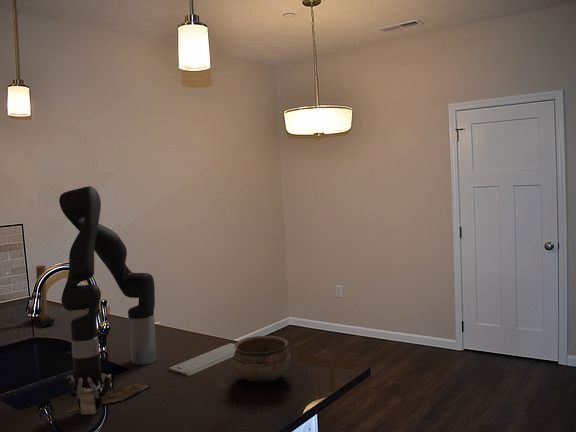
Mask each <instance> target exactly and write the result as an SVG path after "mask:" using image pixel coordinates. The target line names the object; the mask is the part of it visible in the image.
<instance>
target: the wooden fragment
mask: <svg viewBox="0 0 576 432" xmlns="http://www.w3.org/2000/svg"><path fill="white" fill-rule="evenodd" d="M147 388H151V386H150V385H146V384H139V383H135V384H134V383H133V384H130V385H126V386H124V387H122V388H118V389H116V390H112V391H111V390H110V391H108V392H107V393H106V394H105V395H104V396H102V405H104V404H111V403H116V402H124V401H126V400H127V399H129V398H130V397H133V396H135V395H136V394H139V393H140V392H142V391H145V389H147ZM76 411H81V410H80V409H79V407H78V403H76V405H74V406H73V407H71V408H70V409H68V410H67V411H66V413H71V412H72V413H73V412H76Z"/></svg>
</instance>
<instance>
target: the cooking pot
mask: <svg viewBox="0 0 576 432" xmlns="http://www.w3.org/2000/svg"><path fill="white" fill-rule="evenodd" d="M234 344H235V345H234V347H235V349H236V351H235V354H234V357H232V358H233V359H232V365H233V369H234V370H235V372H236V374H237V375H238V376H239V377H241V378H242V379H244V380H245V381H249V382H252V383H253V384H256V385H267V384H271V383H273V381H276V380H277V379H279V378H281V377H282V376H284V375H285V374H286V373H287V371H288V370H289V368H290V366H291V361H292V357H291V354H290V350H289V348H288V344H289V341H288V339H285V338H284V337H280V336H276V335H256V336H250V337H246V338H243V339H239V341H237V342H235V343H234Z"/></svg>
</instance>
